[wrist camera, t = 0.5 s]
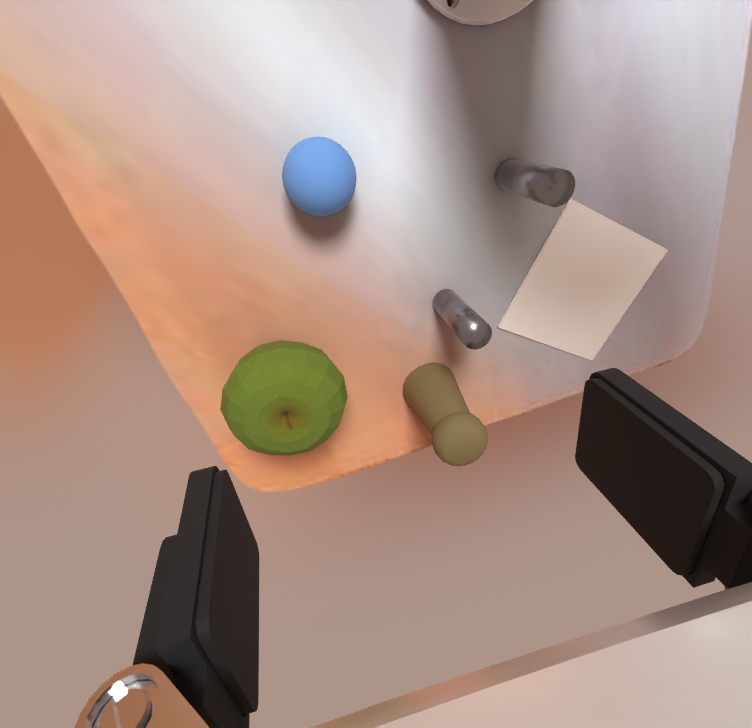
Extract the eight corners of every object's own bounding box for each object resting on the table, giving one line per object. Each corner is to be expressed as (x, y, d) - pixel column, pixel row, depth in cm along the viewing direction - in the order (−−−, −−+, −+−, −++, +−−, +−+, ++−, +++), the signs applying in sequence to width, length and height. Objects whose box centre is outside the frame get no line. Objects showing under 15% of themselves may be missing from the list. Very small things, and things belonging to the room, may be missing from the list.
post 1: (439, 285, 44) (472, 318, 37) (461, 293, 45) (497, 326, 38) (428, 309, 45) (457, 344, 38) (450, 316, 46) (482, 352, 39)
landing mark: (570, 198, 42) (571, 198, 42) (666, 249, 47) (668, 249, 47) (497, 326, 47) (498, 327, 47) (591, 359, 53) (592, 360, 52)
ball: (294, 122, 34) (298, 124, 29) (359, 153, 36) (374, 159, 31) (272, 193, 36) (273, 206, 32) (335, 219, 38) (345, 234, 34)
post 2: (504, 154, 39) (555, 163, 32) (527, 166, 40) (581, 178, 33) (490, 183, 40) (536, 198, 33) (512, 195, 41) (562, 211, 34)
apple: (324, 305, 42) (339, 354, 34) (346, 394, 48) (364, 455, 39) (210, 333, 41) (196, 391, 33) (246, 421, 46) (242, 490, 38)
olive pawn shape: (392, 400, 49) (422, 468, 40) (419, 355, 47) (458, 416, 38) (436, 415, 52) (474, 482, 42) (464, 373, 50) (510, 434, 40)
